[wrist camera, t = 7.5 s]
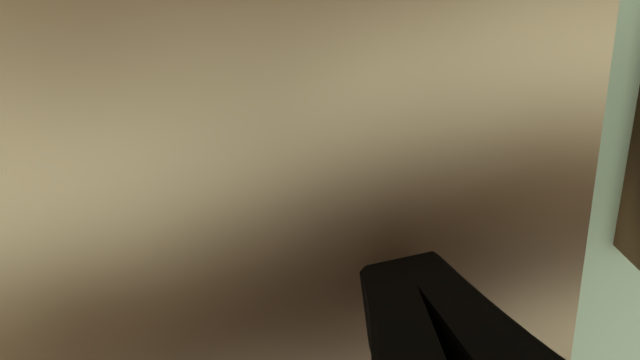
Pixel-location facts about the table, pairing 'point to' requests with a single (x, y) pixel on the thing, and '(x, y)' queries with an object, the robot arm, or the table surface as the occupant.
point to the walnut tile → (631, 199)
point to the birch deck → (288, 167)
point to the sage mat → (612, 215)
